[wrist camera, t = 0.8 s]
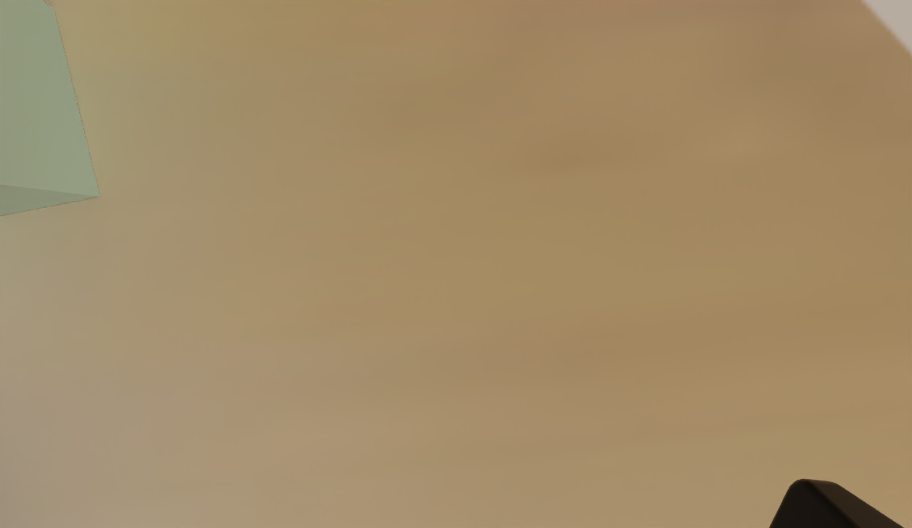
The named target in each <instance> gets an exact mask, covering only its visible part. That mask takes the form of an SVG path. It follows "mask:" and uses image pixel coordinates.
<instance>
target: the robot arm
mask: <svg viewBox="0 0 912 528" xmlns="http://www.w3.org/2000/svg"><path fill="white" fill-rule="evenodd" d="M769 528H903V527H902V526H900V525H899V524H897V523H896V522H894V521H893V520H891V519H890V518H888V517H887V516H885V515H884V514H882V513H881V512H879V511H878V510H876V509H875V508H873V507H872V506H870V505H869V504H867V503H866V502H864V501H862V500H861V499H859V498H858V497H856V496H855V495H853V494H852V493H850V492H849V491H847V490H846V489H844V488H843V487H841V486H840V485H838V484H836V483H833V482H830V481H821V480H811V479H800V480H797V481H795V482H794V483H793V484H792V485H791V486H790V487H789V489H788V491H787V493H786V495H785V497H784V499H783V501H782V503H781V505H780V507H779V509H778V511H777V513H776V515H775V517H774V519H773V521H772V523H771V525H770V527H769Z"/></svg>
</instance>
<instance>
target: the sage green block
mask: <svg viewBox="0 0 912 528" xmlns="http://www.w3.org/2000/svg"><path fill="white" fill-rule="evenodd" d="M95 197H100V195H99V191H98V186H97V182H96V178H95V174H94V170H93V166H92V162H91V158H90V154H89V150H88V146H87V142H86V138H85V134H84V130H83V126H82V122H81V117H80V113H79V109H78V105H77V101H76V97H75V93H74V89H73V85H72V81H71V77H70V73H69V69H68V65H67V61H66V57H65V52H64V48H63V44H62V40H61V36H60V32H59V28H58V24H57V20H56V16H55V12H54V9H53V8H52V7H51V6H49V5H48V4H47V3H46V2H44V1H43V0H0V216H3V215H8V214H13V213H18V212H23V211H28V210H34V209H39V208H44V207H49V206H54V205H59V204H64V203H70V202H75V201H80V200H85V199H90V198H95Z"/></svg>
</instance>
